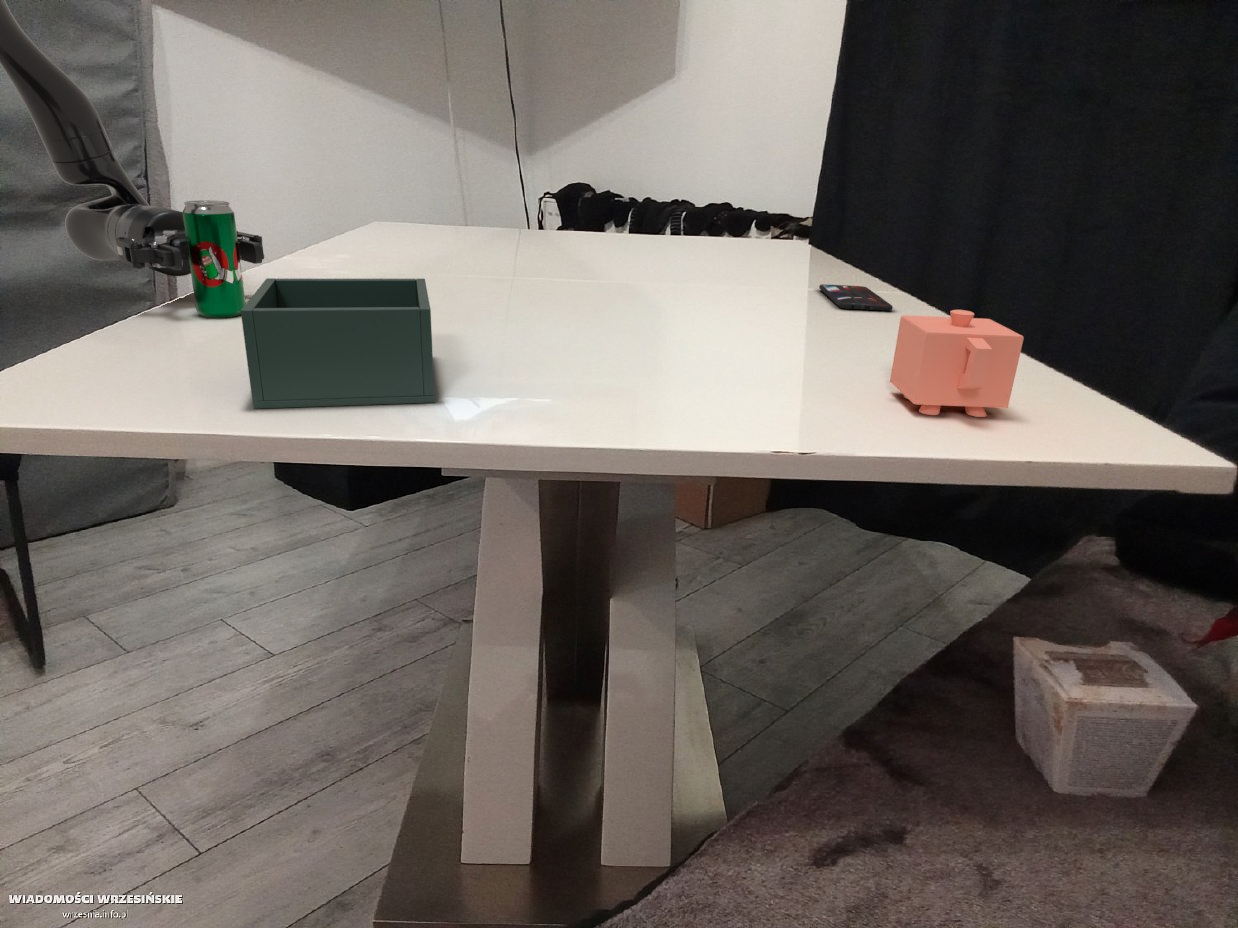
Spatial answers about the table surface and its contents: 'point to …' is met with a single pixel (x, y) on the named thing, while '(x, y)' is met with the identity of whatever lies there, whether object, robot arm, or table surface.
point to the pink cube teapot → (955, 362)
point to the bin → (339, 342)
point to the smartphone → (855, 297)
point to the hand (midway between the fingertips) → (219, 256)
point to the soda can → (214, 258)
